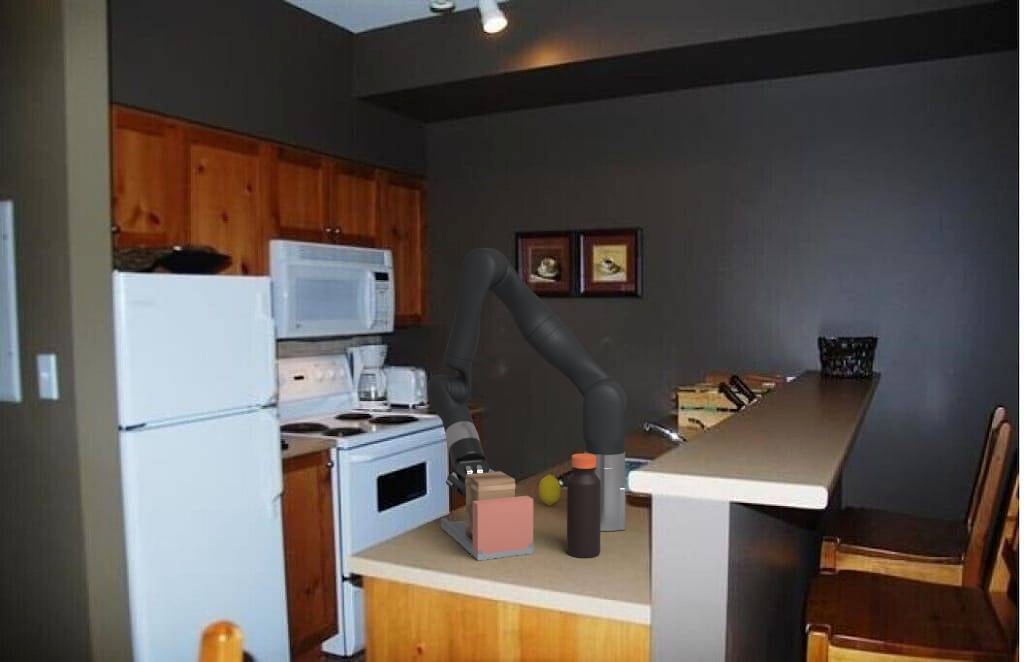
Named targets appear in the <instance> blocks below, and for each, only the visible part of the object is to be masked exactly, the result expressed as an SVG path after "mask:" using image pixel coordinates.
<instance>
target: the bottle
mask: <svg viewBox="0 0 1024 662" xmlns="http://www.w3.org/2000/svg"><path fill="white" fill-rule="evenodd" d="M595 467H596V456H595V455H592V454H585V453H576V454H575V453H574V454H572V455H571V469H572V470H573V472H572V474H571V475H570V476H569V477H568V478H567V481H566V551H567V554H568V555H570V556H572V557H575V558H579V559H580V558H581V559H582V558H583V559H588V558H590V559H591V558H594V557H595V558H596V557H597V556H599V555H600V553H601V531H600V508H601V481H600V479H599V478H598V477H597V476H596V475H595V474H594V470H595V469H596V468H595Z"/></svg>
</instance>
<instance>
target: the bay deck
mask: <svg viewBox="0 0 1024 662" xmlns="http://www.w3.org/2000/svg"><path fill="white" fill-rule="evenodd" d="M465 523H466V519H464V520H463V519H462V520H455V521H450V520H448V518H446V517H444V518H441V523H440V524H441V526H440V528H441V527H442V528H443V529H444V530H445V531H446V532H447V533H449V534H450V535H451V536H452V537H453V538H454V539H455V540H456V541H457V542H459V543H460V544H461V545H462V546H463V547H464V548H465V549H466V550H467V551H468V552H469V553H471V554H470V556H472V555H473V556H474V557H475V558H476V559H477V560H478V561H477V560H476V559H475V558H474V557H473V556H472V557H473V558H474V559H475V560H476V561H477V562H480V561H479V560H482V561H488V560H487V559H489V560H495V559H494V558H497V559H502V558H501V557H504V558H508V557H507V556H512V557H516V556H515V555H519V556H526V555H525V554H527V555H533V554H534V542H533V543H529V548H527V549H520V550H512V551H504V552H497V553H489V554H483V549H481V550H478V555H477V554H476V553H475V552H474V551H473V540H471V539H470V538H469V537H468V536H467V535H466V528H465ZM442 528H441V529H442ZM443 529H442V530H443ZM444 530H443V531H444ZM445 531H444V532H445ZM446 532H445V533H446ZM447 533H446V534H447ZM450 535H449V536H450ZM451 536H450V537H451ZM452 537H451V538H452ZM453 538H452V539H453ZM454 539H453V540H454ZM455 540H454V541H455ZM456 541H455V542H456ZM457 542H456V543H457ZM460 544H459V545H460ZM461 545H460V546H461ZM462 546H461V547H462ZM463 547H462V548H463ZM464 548H463V549H464ZM465 549H464V550H465ZM466 550H465V551H466ZM467 551H466V552H467ZM468 552H467V553H468ZM469 553H468V554H469Z"/></svg>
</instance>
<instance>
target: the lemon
mask: <svg viewBox="0 0 1024 662" xmlns="http://www.w3.org/2000/svg"><path fill="white" fill-rule="evenodd" d="M538 497H539V498H540V500H541V501H542V502H543V503H545V504H546V505H547V506H548V507H550V506H552V505H553V504H554V503H557V501H559V499H560V497H561V484H560V482H559V479H558V478H556V476H554V475H552V474H547V475H546V476H544V477H542V479H541V480H540V481H539V484H538Z"/></svg>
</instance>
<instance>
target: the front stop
mask: <svg viewBox="0 0 1024 662" xmlns="http://www.w3.org/2000/svg"><path fill="white" fill-rule="evenodd" d="M529 543H533V544H534V498H533V497H530V496H529V495H523V496H522V495H520V496H519V495H518V496H515V497H509V498H500V499H490V500H480V501H473V551H474V552H475V553H476V554H477V555H478V550H481V549H483V554H489V553H497V552H504V551H512V550H520V549H527V548H529Z"/></svg>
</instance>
